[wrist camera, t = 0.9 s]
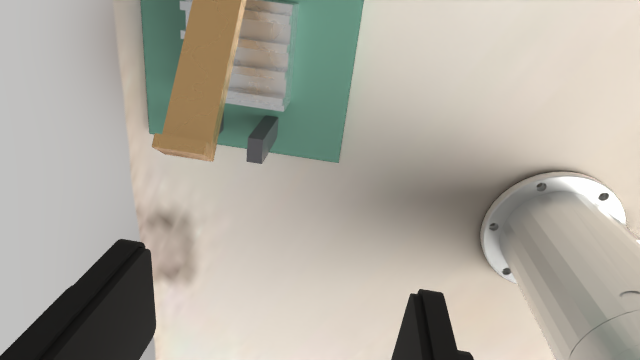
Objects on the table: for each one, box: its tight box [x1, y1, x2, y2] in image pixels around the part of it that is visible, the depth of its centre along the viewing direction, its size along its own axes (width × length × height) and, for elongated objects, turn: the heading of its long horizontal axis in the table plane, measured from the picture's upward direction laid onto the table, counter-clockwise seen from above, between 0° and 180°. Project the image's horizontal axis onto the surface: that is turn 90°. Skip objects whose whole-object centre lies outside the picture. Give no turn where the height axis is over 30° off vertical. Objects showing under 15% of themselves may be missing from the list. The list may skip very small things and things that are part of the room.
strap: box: [152, 0, 246, 162], centre depth 25 cm, size 3×14×2 cm
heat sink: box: [180, 0, 299, 112], centre depth 30 cm, size 8×12×6 cm, turn 173°
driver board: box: [141, 0, 364, 164], centre depth 32 cm, size 18×18×7 cm
